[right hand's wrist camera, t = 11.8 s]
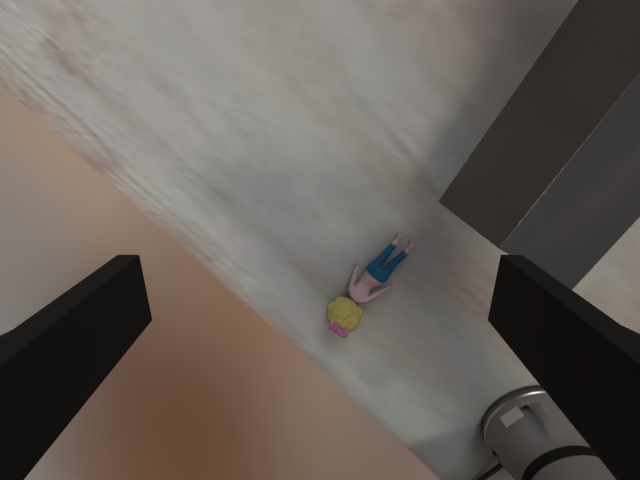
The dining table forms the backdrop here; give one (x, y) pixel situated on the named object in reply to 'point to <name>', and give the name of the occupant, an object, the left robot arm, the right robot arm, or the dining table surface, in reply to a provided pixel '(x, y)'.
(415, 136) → the dining table surface
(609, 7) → the box
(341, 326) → the figurine
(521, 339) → the right robot arm
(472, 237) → the dining table surface
